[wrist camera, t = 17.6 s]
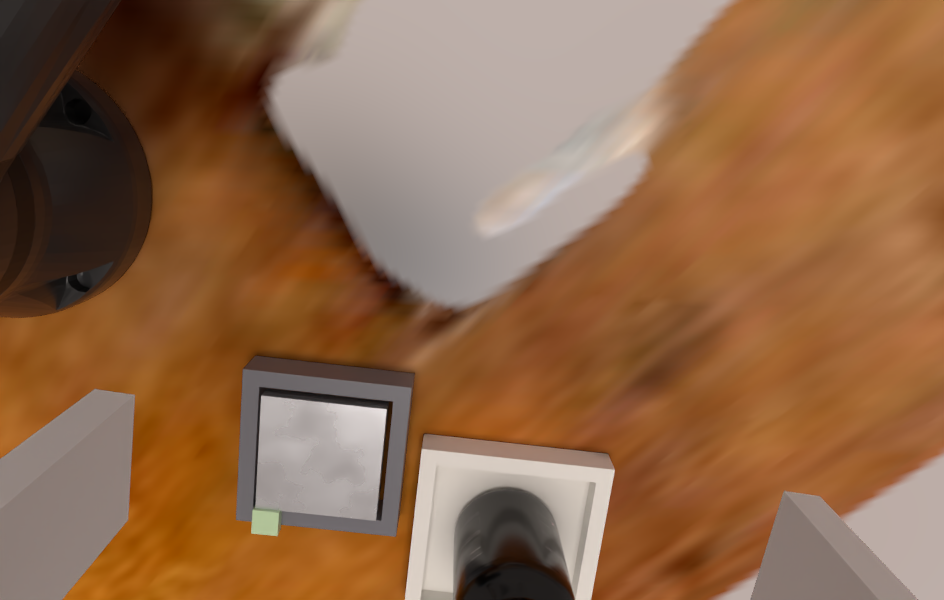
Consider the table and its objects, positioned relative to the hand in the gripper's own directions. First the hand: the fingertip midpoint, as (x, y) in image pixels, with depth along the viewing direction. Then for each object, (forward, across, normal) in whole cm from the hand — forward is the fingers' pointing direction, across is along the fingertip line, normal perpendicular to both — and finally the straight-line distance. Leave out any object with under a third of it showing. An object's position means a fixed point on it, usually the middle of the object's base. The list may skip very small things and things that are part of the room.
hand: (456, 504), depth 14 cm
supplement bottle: (+29, +6, -18) cm, 34 cm away
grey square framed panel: (+29, -6, -14) cm, 33 cm away
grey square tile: (+27, -6, -14) cm, 31 cm away
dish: (+29, +6, -18) cm, 35 cm away
